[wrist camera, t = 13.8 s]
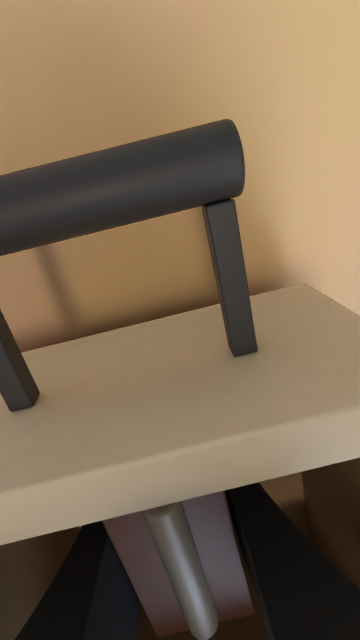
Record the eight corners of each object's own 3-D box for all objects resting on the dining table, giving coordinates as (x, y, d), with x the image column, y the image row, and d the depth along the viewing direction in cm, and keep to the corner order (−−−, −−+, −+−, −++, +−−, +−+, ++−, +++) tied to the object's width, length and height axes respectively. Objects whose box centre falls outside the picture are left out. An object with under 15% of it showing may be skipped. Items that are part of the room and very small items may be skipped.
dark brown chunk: (110, 393, 11) (85, 519, 7) (195, 372, 11) (224, 486, 7) (155, 511, 13) (157, 661, 9) (225, 494, 13) (260, 637, 9)
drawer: (-104, 220, 9) (-518, 267, 4) (290, 121, 9) (524, 5, 4) (96, 585, 16) (66, 807, 10) (325, 530, 16) (424, 721, 10)
